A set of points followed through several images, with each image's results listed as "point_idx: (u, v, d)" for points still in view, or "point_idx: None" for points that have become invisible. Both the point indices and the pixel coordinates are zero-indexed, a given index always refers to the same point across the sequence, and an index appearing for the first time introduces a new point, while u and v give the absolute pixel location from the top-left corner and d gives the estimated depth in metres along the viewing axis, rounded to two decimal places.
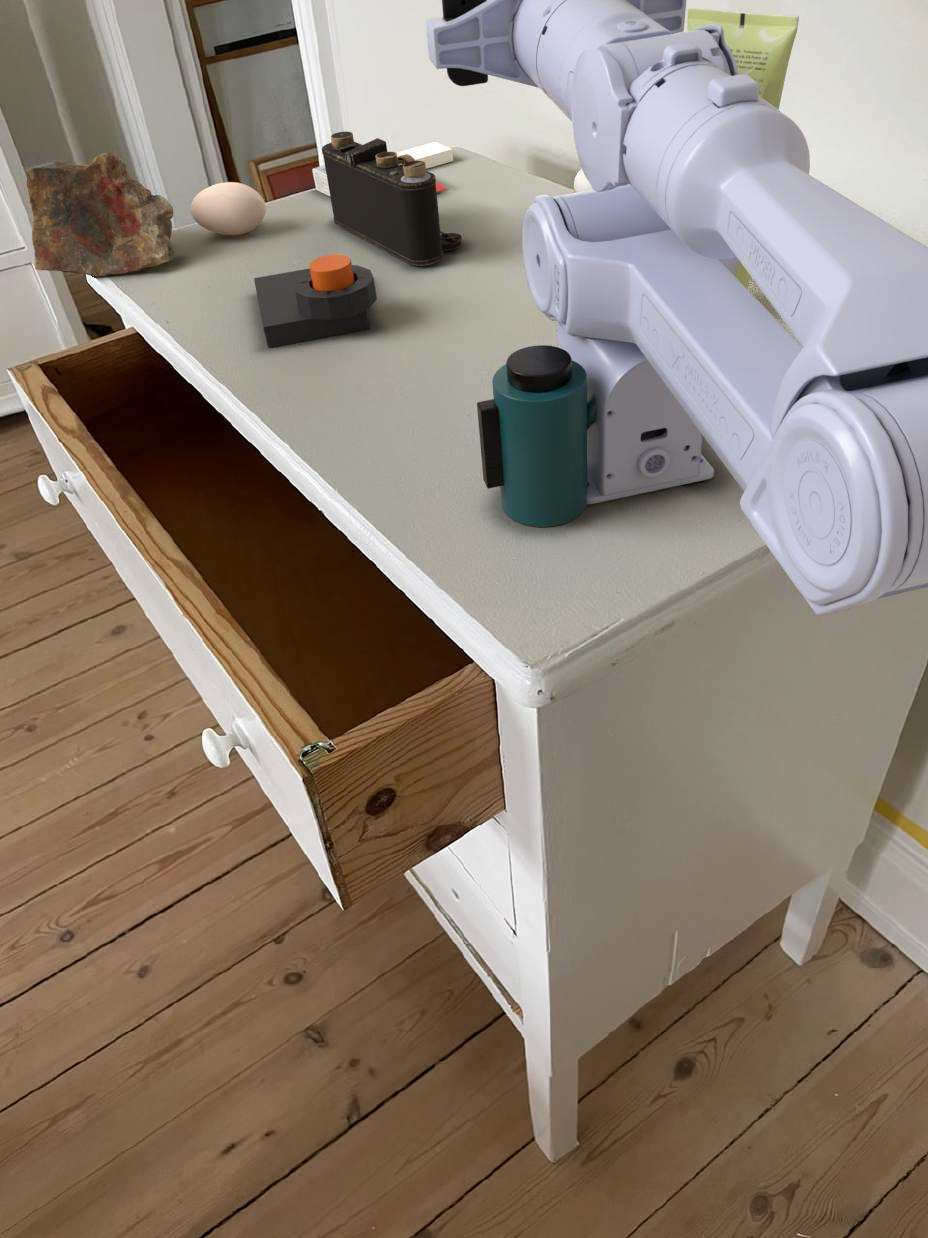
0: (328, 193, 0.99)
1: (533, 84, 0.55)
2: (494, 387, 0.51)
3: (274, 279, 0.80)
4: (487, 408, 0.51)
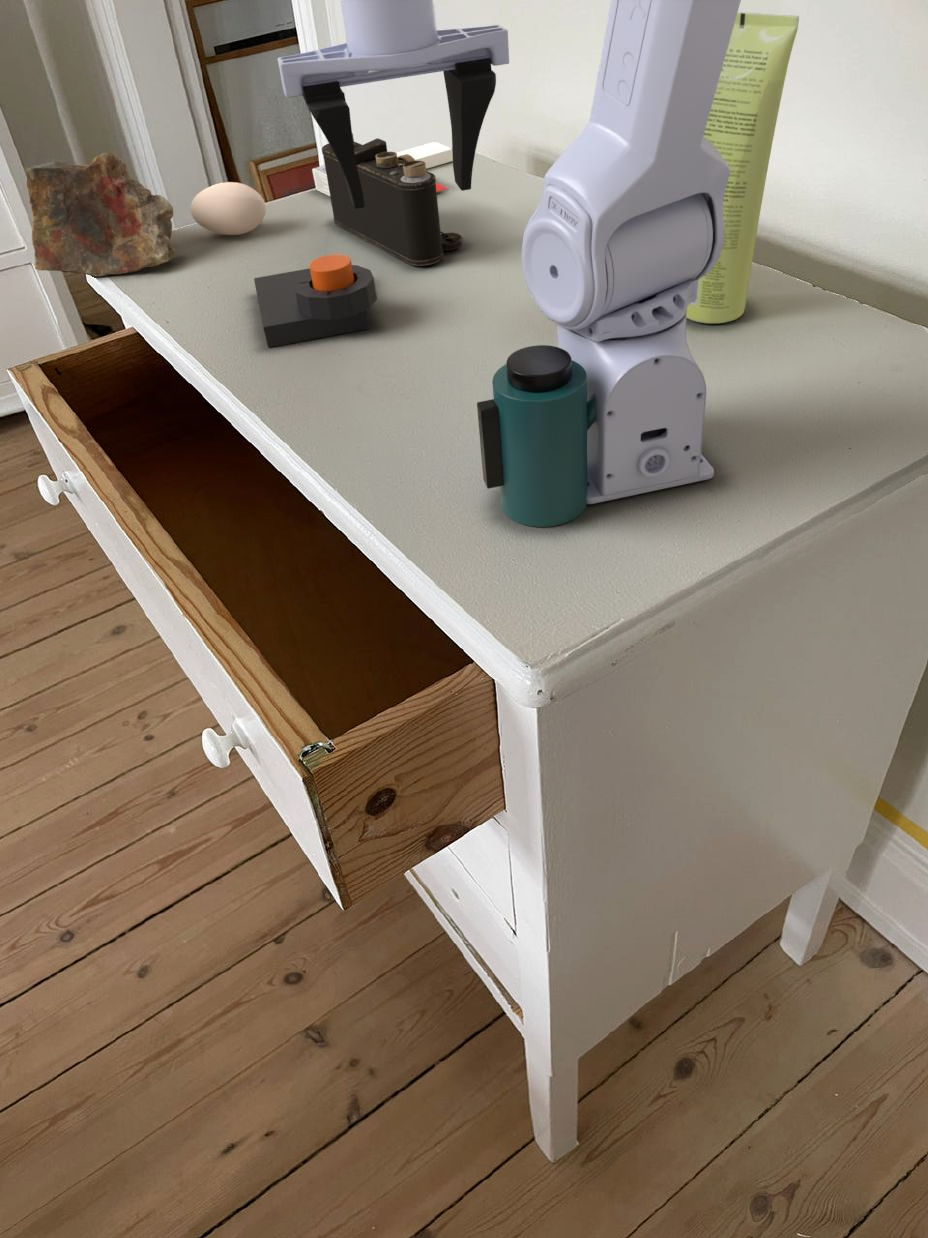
0: (328, 193, 0.99)
1: (372, 55, 0.59)
2: (494, 387, 0.51)
3: (274, 279, 0.80)
4: (487, 408, 0.51)
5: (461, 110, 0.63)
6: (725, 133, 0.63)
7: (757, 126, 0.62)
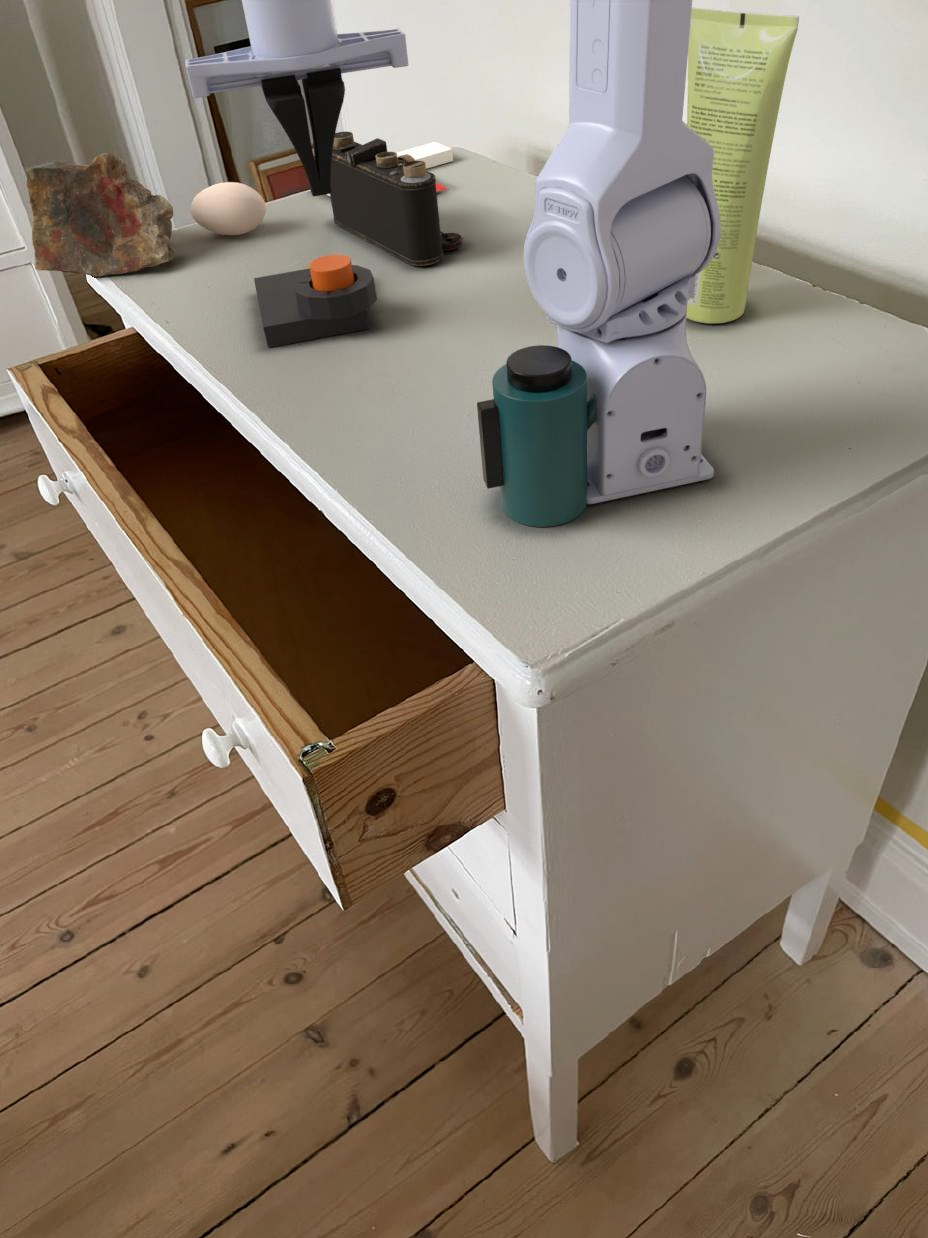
0: None
1: (273, 58, 0.62)
2: (494, 387, 0.51)
3: (274, 279, 0.80)
4: (487, 408, 0.51)
5: (313, 118, 0.65)
6: (725, 133, 0.63)
7: (757, 126, 0.62)
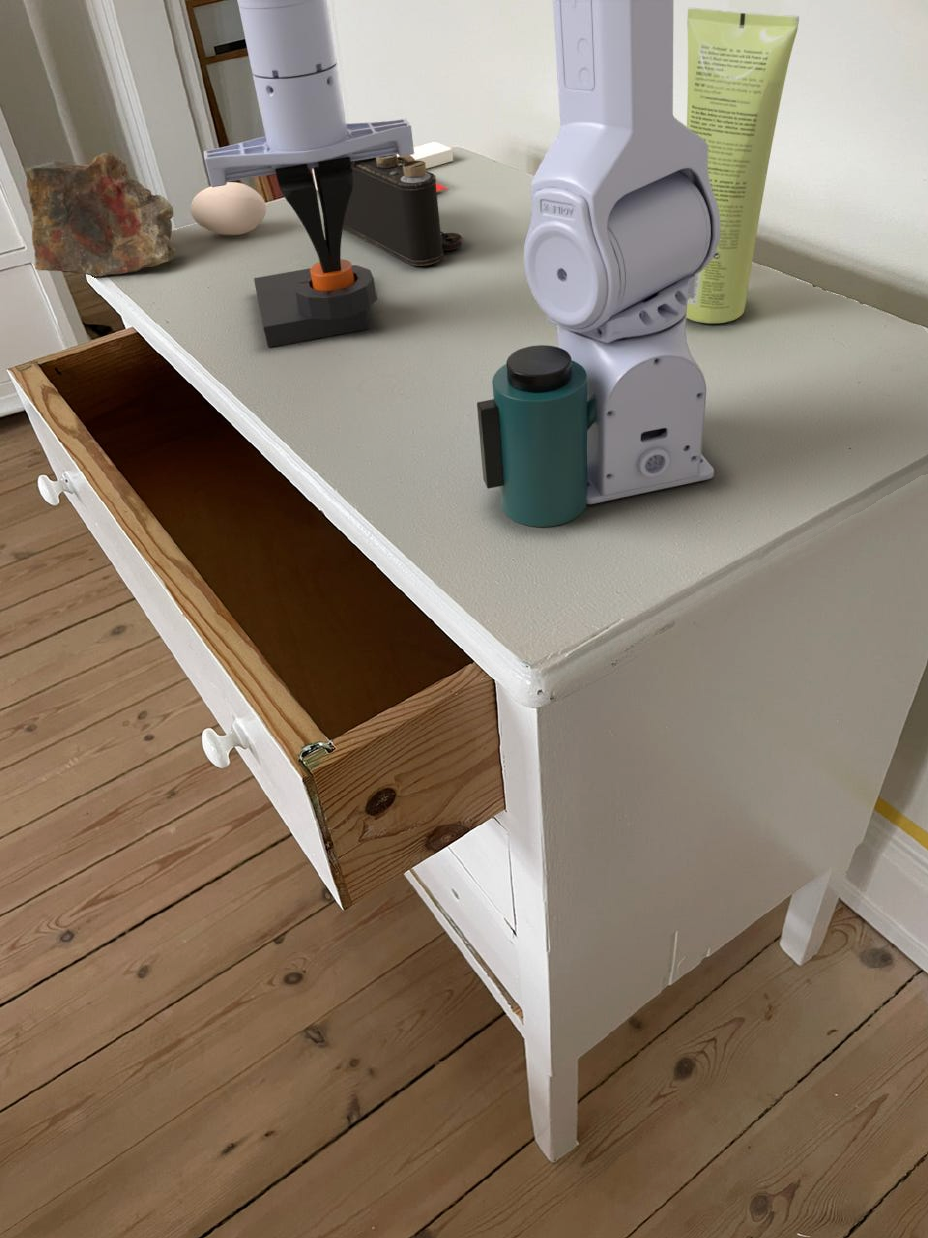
0: None
1: (286, 151, 0.66)
2: (494, 387, 0.51)
3: (274, 279, 0.80)
4: (487, 408, 0.51)
5: (324, 204, 0.69)
6: (725, 133, 0.63)
7: (757, 126, 0.62)
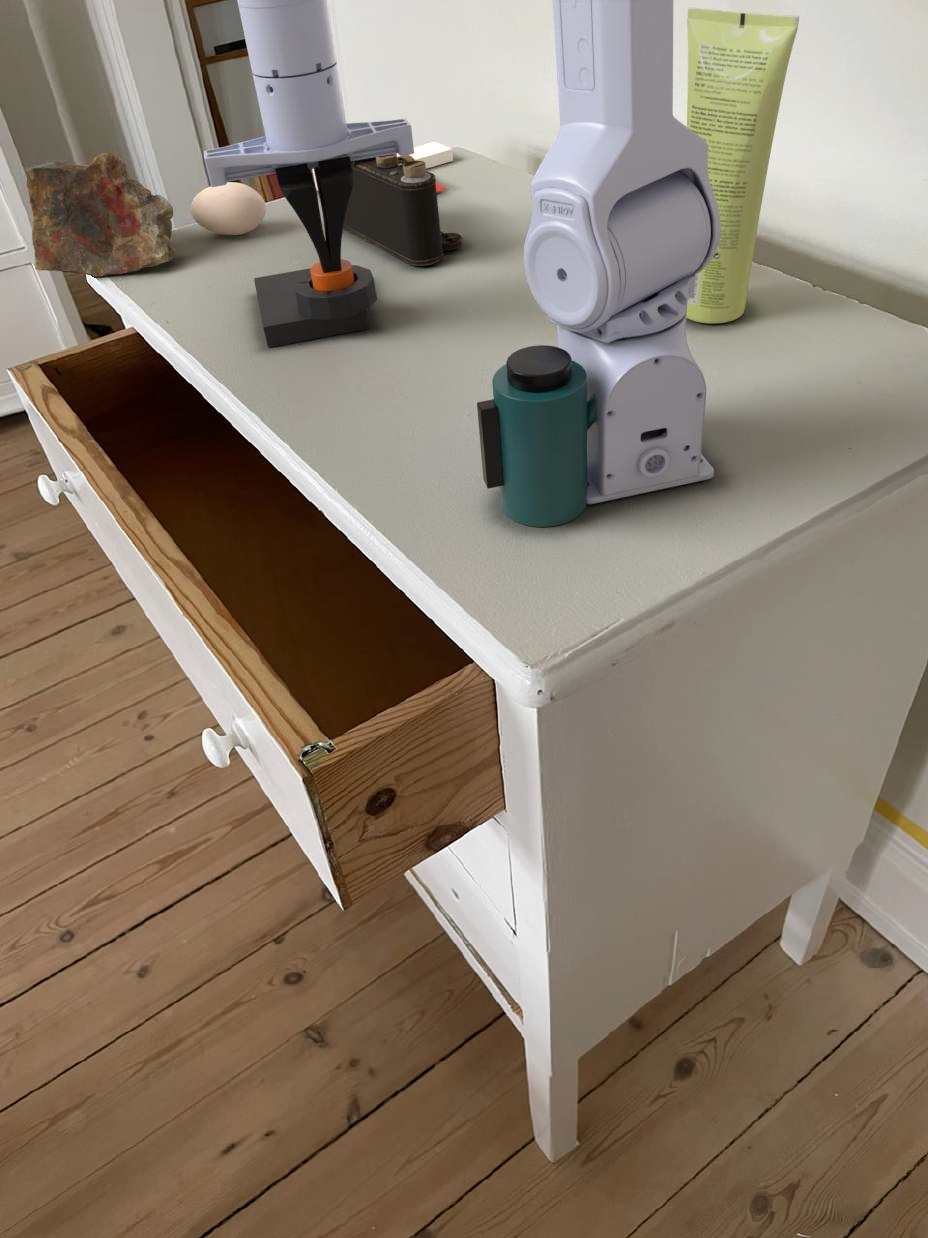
0: None
1: (286, 151, 0.66)
2: (494, 387, 0.51)
3: (274, 279, 0.80)
4: (487, 408, 0.51)
5: (324, 203, 0.69)
6: (725, 133, 0.63)
7: (757, 126, 0.62)
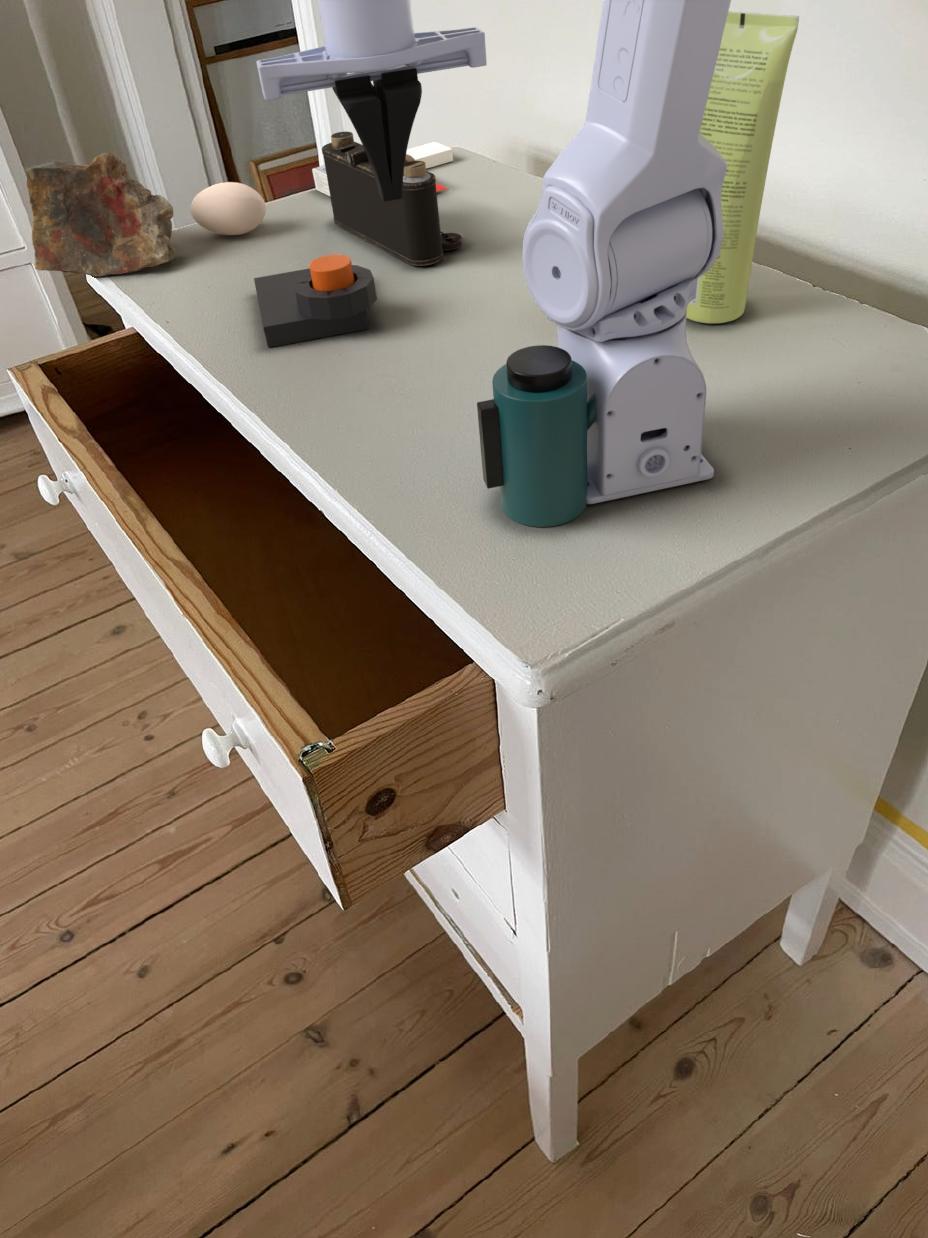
0: (328, 193, 0.99)
1: (350, 57, 0.59)
2: (494, 387, 0.51)
3: (274, 279, 0.80)
4: (487, 408, 0.51)
5: (388, 120, 0.63)
6: (725, 133, 0.63)
7: (757, 126, 0.62)
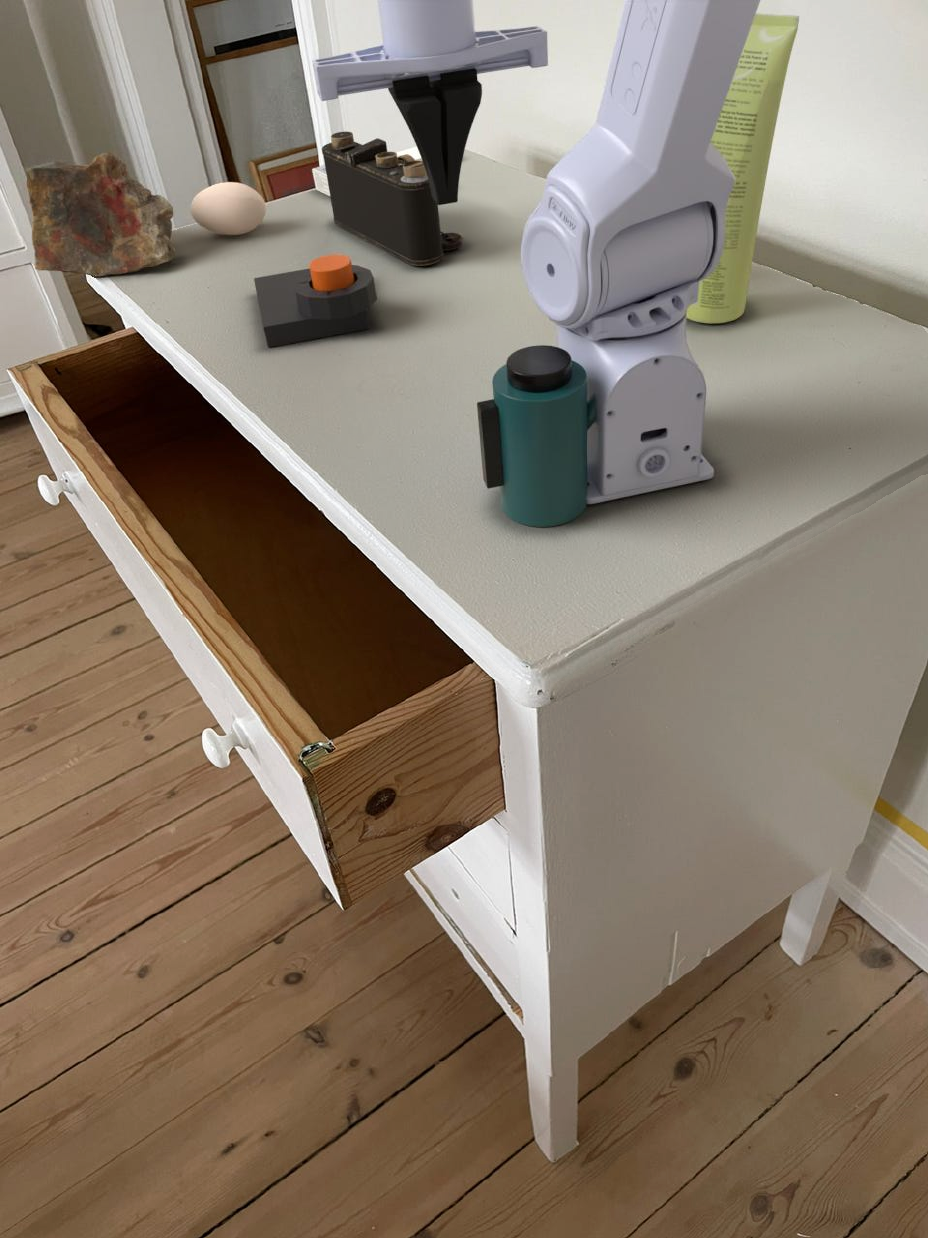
0: (328, 193, 0.99)
1: (410, 57, 0.58)
2: (494, 387, 0.51)
3: (274, 279, 0.80)
4: (487, 408, 0.51)
5: (446, 122, 0.61)
6: (725, 133, 0.63)
7: (757, 126, 0.62)
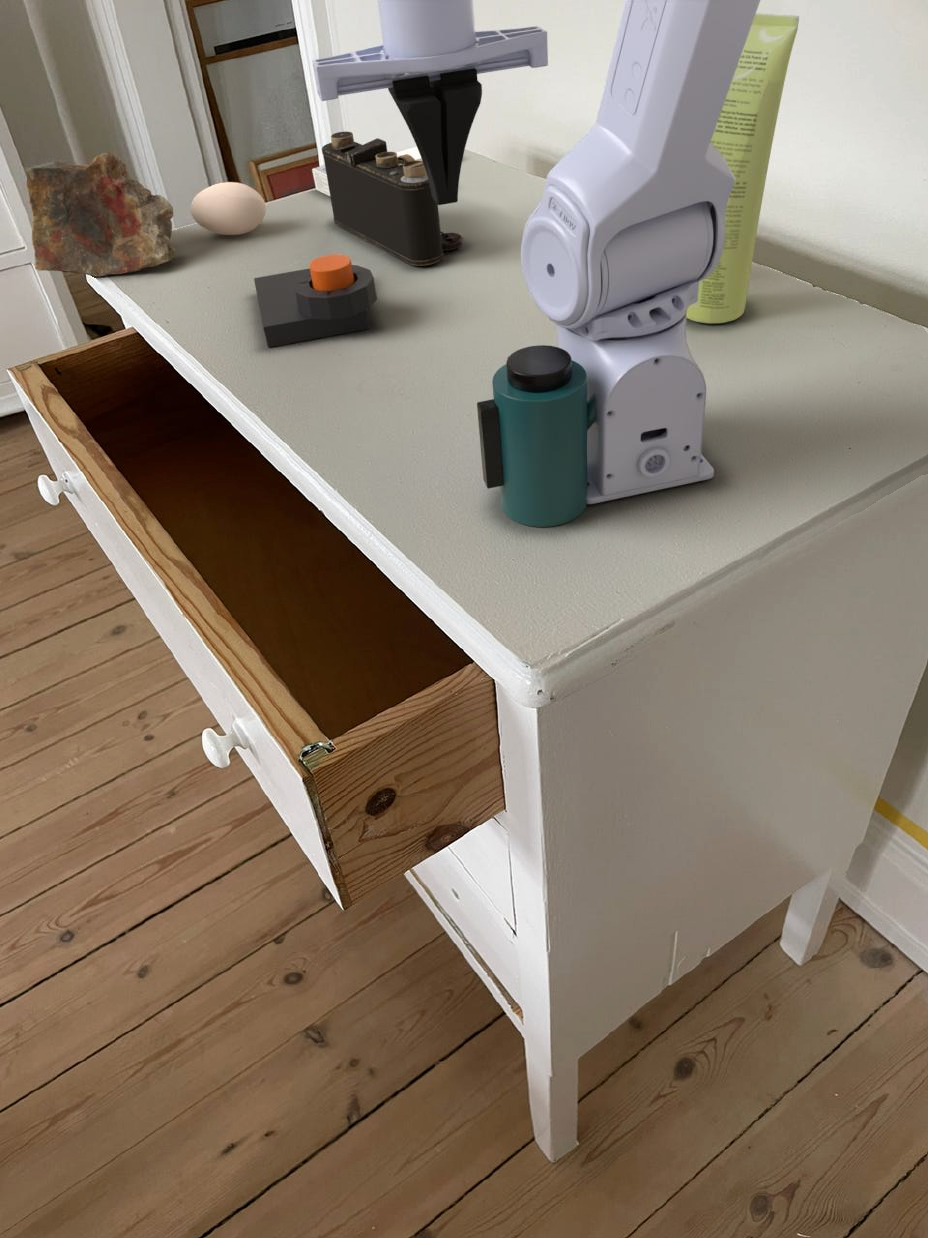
0: (328, 193, 0.99)
1: (410, 57, 0.58)
2: (494, 387, 0.51)
3: (274, 279, 0.80)
4: (487, 408, 0.51)
5: (446, 122, 0.61)
6: (725, 133, 0.63)
7: (757, 126, 0.62)
